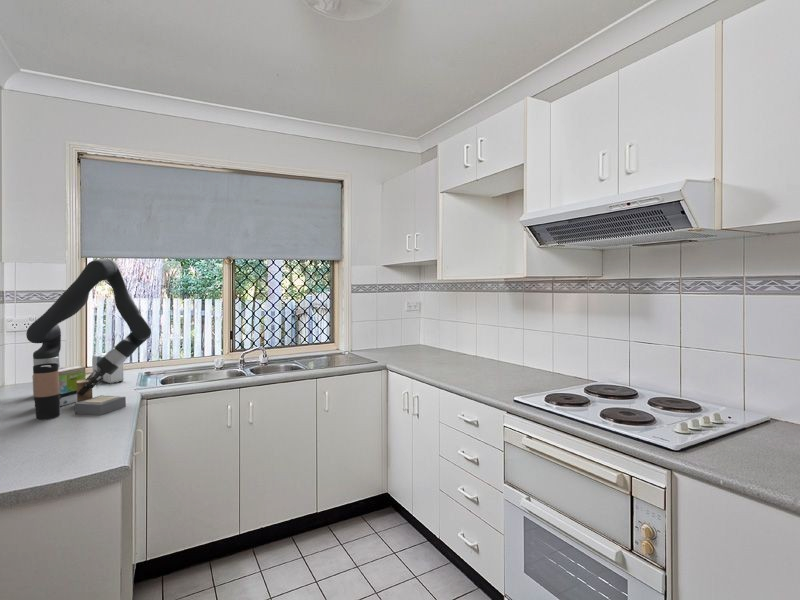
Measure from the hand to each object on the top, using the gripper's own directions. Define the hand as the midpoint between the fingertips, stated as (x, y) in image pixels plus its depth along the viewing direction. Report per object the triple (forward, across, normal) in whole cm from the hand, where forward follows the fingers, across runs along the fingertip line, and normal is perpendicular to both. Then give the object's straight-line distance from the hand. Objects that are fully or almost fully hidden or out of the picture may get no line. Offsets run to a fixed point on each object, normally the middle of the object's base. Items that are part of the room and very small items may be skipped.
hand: (79, 393), depth 186 cm
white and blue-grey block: (-6, -47, +14) cm, 50 cm away
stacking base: (-1, +13, +8) cm, 16 cm away
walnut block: (+2, 0, +4) cm, 5 cm away
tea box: (+8, -9, 0) cm, 12 cm away
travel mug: (+11, +11, -4) cm, 16 cm away
